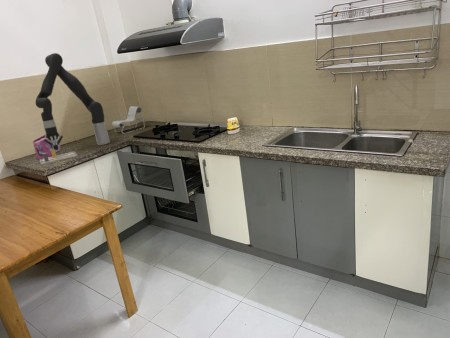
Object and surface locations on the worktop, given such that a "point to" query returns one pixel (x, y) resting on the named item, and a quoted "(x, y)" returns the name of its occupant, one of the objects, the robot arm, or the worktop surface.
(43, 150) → the gum box
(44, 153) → the fader charcoal
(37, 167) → the worktop surface
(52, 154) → the fader amber
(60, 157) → the console
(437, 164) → the worktop surface
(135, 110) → the chair
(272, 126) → the worktop surface
